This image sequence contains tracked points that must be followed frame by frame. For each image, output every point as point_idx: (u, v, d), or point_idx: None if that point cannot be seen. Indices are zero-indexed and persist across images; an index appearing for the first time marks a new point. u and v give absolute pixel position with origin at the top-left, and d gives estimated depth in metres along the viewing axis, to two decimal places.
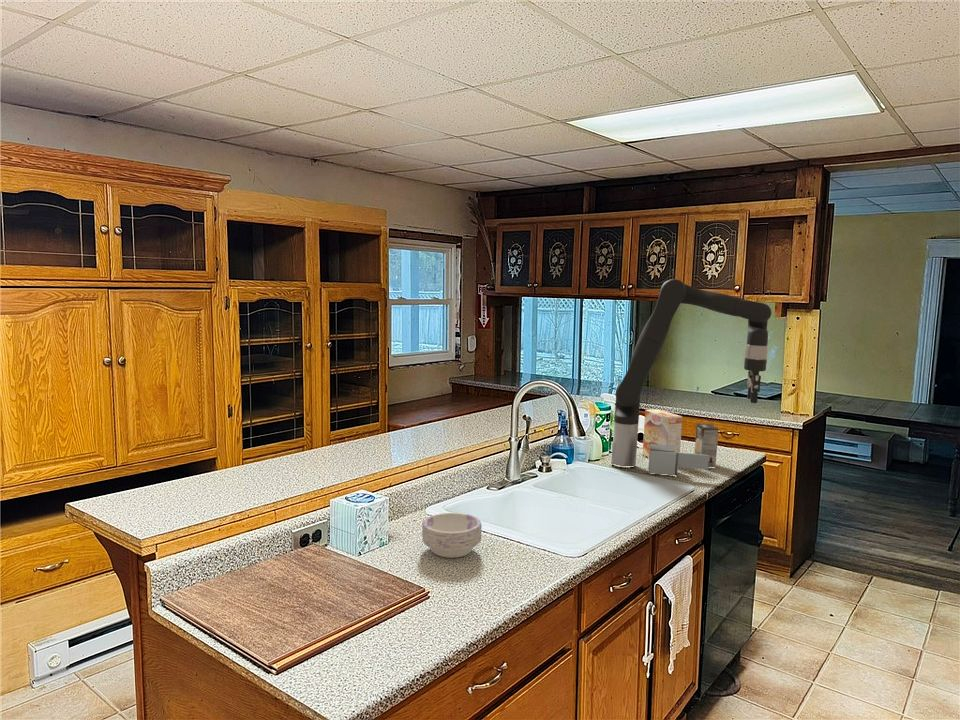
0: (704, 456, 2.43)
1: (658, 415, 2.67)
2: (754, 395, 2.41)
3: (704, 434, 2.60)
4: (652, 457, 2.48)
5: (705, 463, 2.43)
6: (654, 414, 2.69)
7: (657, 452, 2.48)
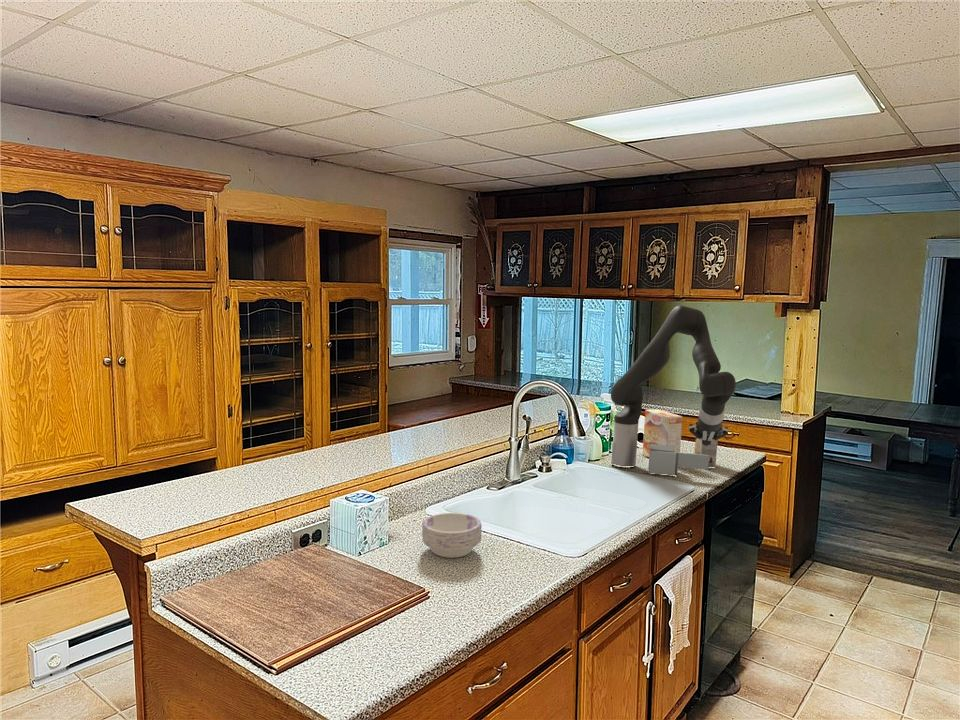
0: (704, 456, 2.43)
1: (658, 415, 2.67)
2: None
3: None
4: (652, 457, 2.48)
5: (705, 463, 2.43)
6: (654, 414, 2.69)
7: (657, 452, 2.48)
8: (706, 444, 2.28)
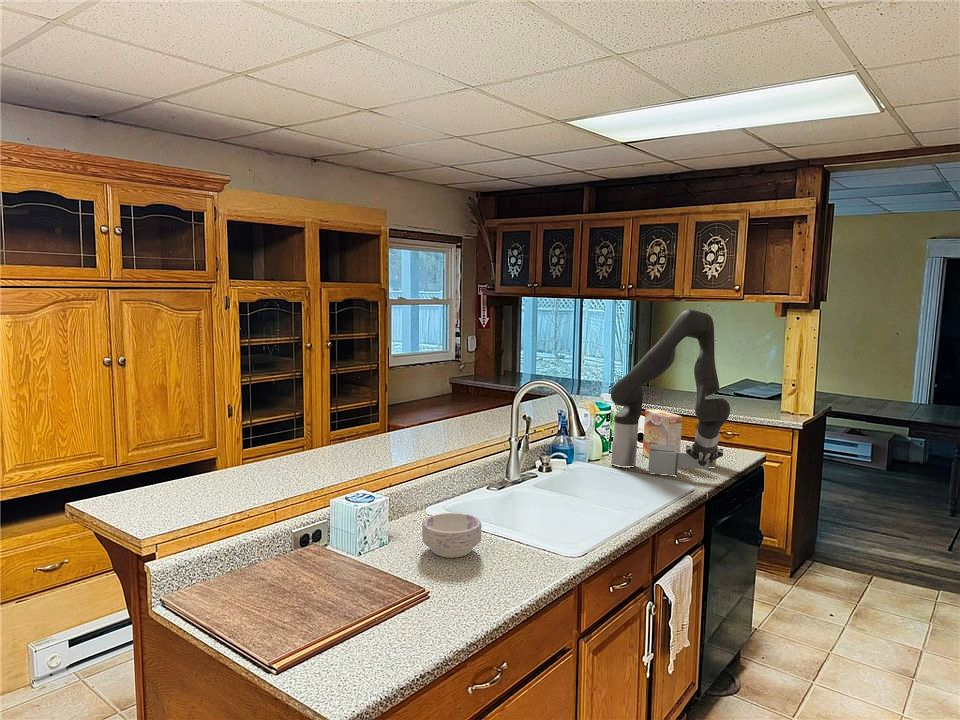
0: None
1: (658, 415, 2.67)
2: (698, 458, 2.38)
3: None
4: (652, 457, 2.48)
5: None
6: (654, 414, 2.69)
7: (657, 452, 2.48)
8: (702, 464, 2.38)
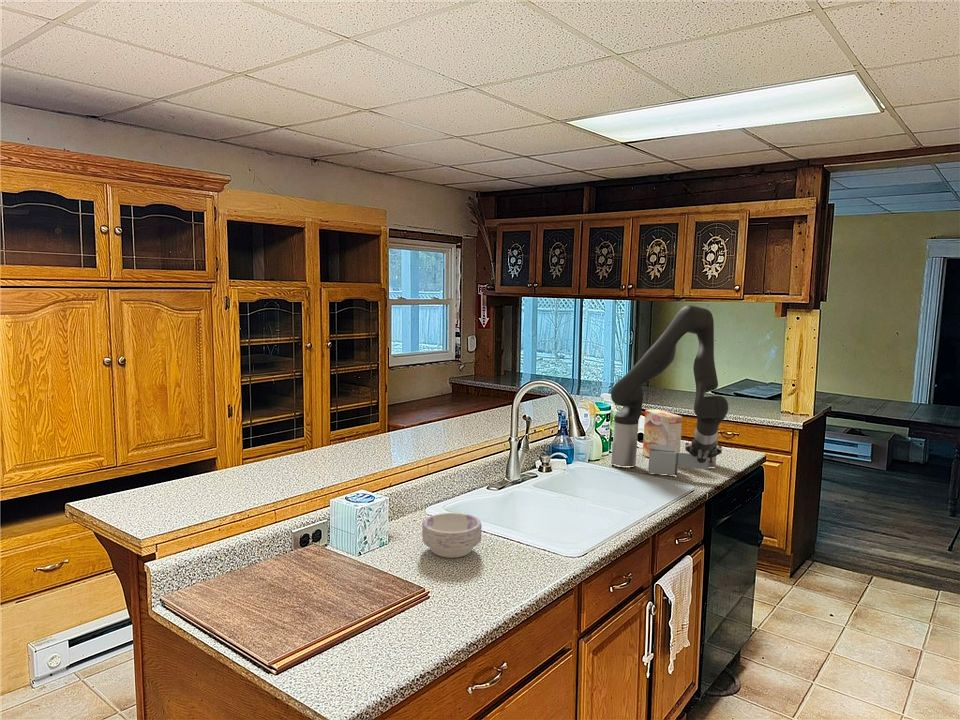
0: None
1: (658, 415, 2.67)
2: None
3: None
4: (652, 457, 2.48)
5: (705, 463, 2.43)
6: (654, 414, 2.69)
7: (657, 452, 2.47)
8: (701, 462, 2.42)
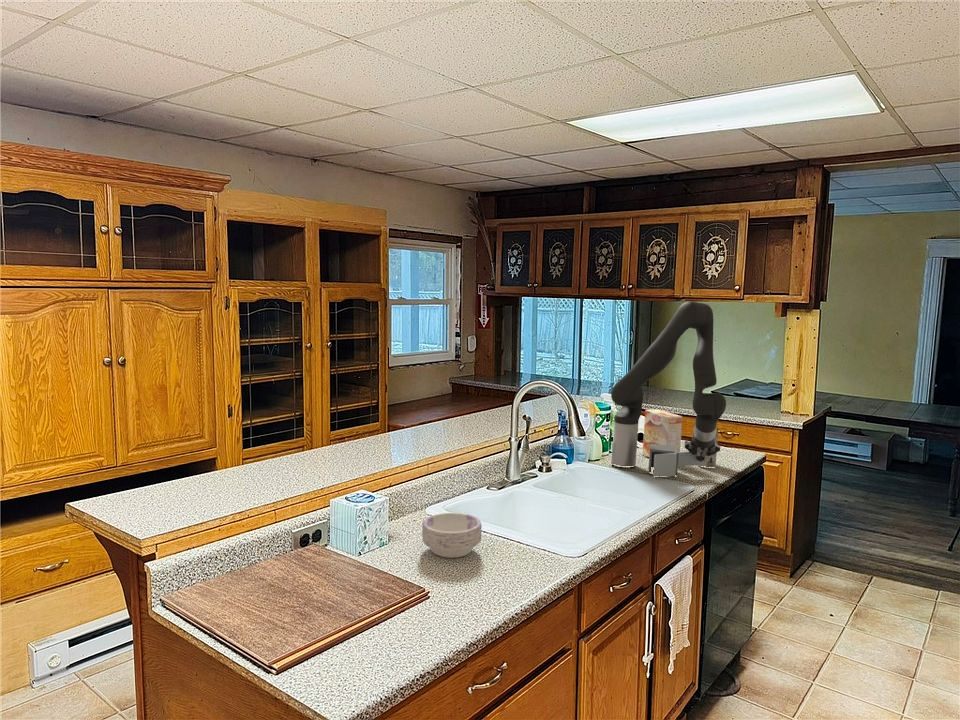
0: None
1: (658, 415, 2.67)
2: None
3: None
4: (657, 461, 2.43)
5: None
6: (654, 414, 2.69)
7: (661, 455, 2.43)
8: (700, 460, 2.47)
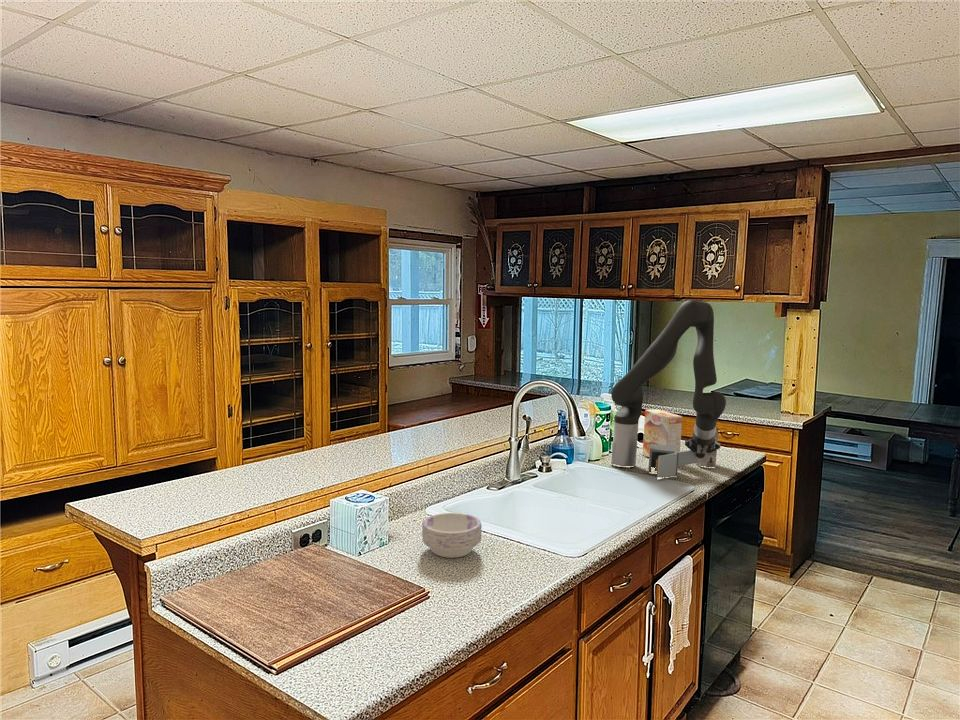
0: None
1: (658, 415, 2.67)
2: None
3: None
4: (661, 462, 2.41)
5: (695, 457, 2.51)
6: (654, 414, 2.69)
7: (664, 456, 2.42)
8: (700, 457, 2.50)
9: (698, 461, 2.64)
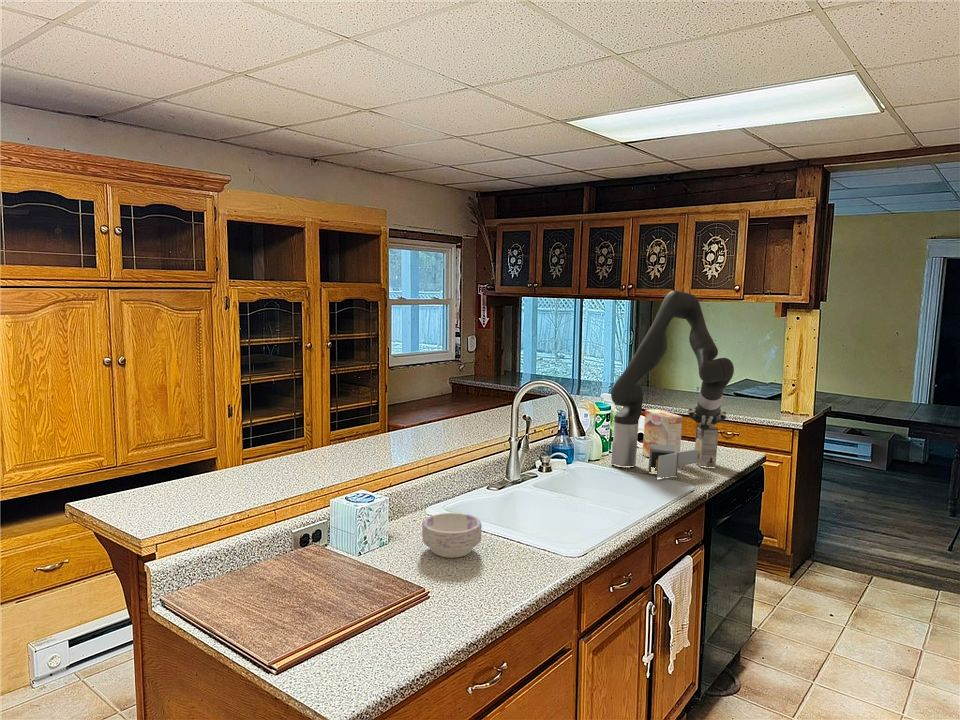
0: (695, 450, 2.51)
1: (658, 415, 2.67)
2: None
3: (704, 434, 2.60)
4: (661, 462, 2.41)
5: (695, 457, 2.51)
6: (654, 414, 2.69)
7: (664, 456, 2.42)
8: (705, 428, 2.37)
9: (698, 461, 2.64)
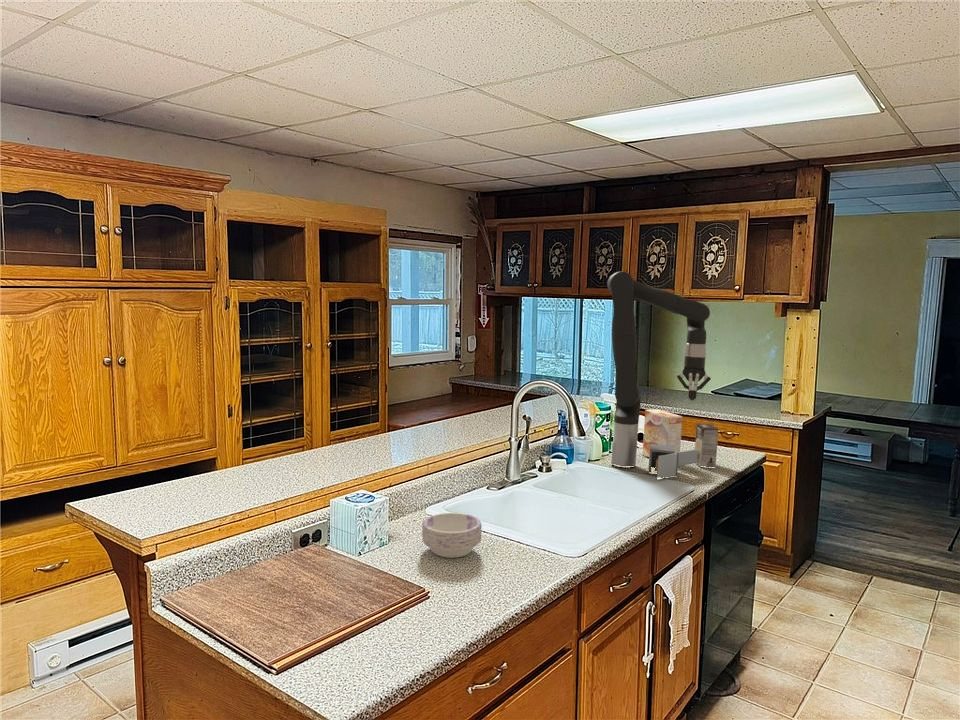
0: (695, 450, 2.51)
1: (658, 415, 2.67)
2: None
3: (704, 434, 2.60)
4: (661, 462, 2.41)
5: (695, 457, 2.51)
6: (654, 414, 2.69)
7: (664, 456, 2.42)
8: (692, 397, 2.56)
9: (698, 461, 2.64)
